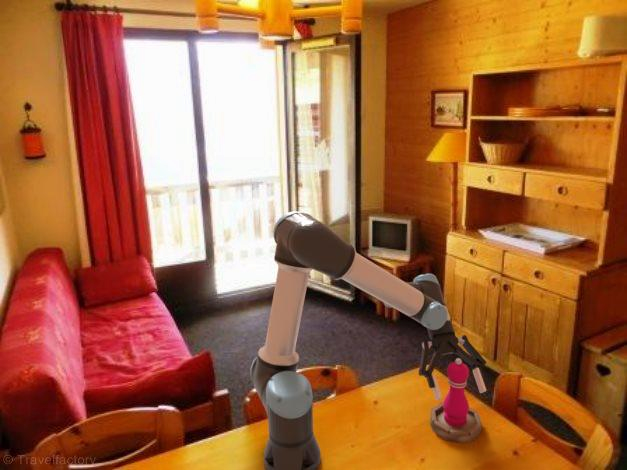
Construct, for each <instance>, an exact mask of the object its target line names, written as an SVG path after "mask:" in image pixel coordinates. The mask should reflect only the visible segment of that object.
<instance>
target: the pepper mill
mask: <svg viewBox="0 0 627 470" xmlns="http://www.w3.org/2000/svg"><path fill="white" fill-rule="evenodd" d="M462 360H463V359H462V358H461V357H457V358H456V359H455V360H454V361H452V362H450V363H449V364H448V366H447V369H446V374H447V376H448V379H447V381H448V385H449V390H448V393H447V394H446V396H445V397H444V399H443V409H444V411H445V412H444V420H445V421H446V422H447V423H448V424H449V425H451V426H455V427H460V426H463V425H465V424H466V421H467V414H468V412H469V407H470V404H469V401H468V399H467V396H466V394H465V387H467V384H468V383H467V382H468V381H467V380H468V378H469V376H470V369H469V367H468V365H466V364H465V363H463V361H462Z"/></svg>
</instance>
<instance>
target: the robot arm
mask: <svg viewBox="0 0 627 470" xmlns="http://www.w3.org/2000/svg"><path fill="white" fill-rule="evenodd" d="M273 239H274V242H275V244H276V245H275V251H274V257H273V258H274V259H273V260H274V262H275V263H276V264H277V267H278V268H277V274H276V280H275V286H274V292H273V297H272V301H271V309H270V315H269V320H268V326H267V331H266V338H265V339H266V340H265V344H264V346H262V347H260V348H259V350H258V352H257V356H256V357H254V359H253V360H252V363H251V365H250V374H249V375H250V379H251V383H252V386H253V387H254V389H255V392H256V394H257V395H258V397H259V399H260V401H261V404H262V405H263V407H264V409H265V412H266V415H267V422H268V423H267V424H268V438H267V442H266V446H265V448H264V453H263V465H264V468H265V470H319V469H318V468H319V467H320V465H321V459H322V458H321V457H322V455H321V447H320V445H319V442H318V440H317V438H316V436H315V433H314V419H313V418H314V415H313V414H314V413H313V407H314V406H313V397H314V395H313V390H312V385H311V383H310V381H309V379H308V378H307V377H306V376H305V375H303V374H302V373H298V372H297V371H298V365H299V360H300V356H299V354H298V353H297V352H296V347H297V341H298V335H299V331H300V325H301V320H302V314H303V310H304V304H305V297H306V293H307V287H308V282H309V277H310V272H311V271H317V272H318V273H321V274H322V275H325V276H327V277H329V278H331V279H332V280H336V281H339V280H340V279H341V280H343V281H345V282H347V283H348V284H351V285H352V286H353V287H355V288H357V289H359V290H361V291H363V292H364V293H366V294H368V295H370V296H372V297H374V298H376V299H378V300H379V301H380V302H382V303H383V305H384V306H385V307H387V308H389V309H390V308H391V309H392V308H393V309H395V310H397V311H398V312H401V313H402V314H404V315H405V316H407V317H409V318H411V319H413V320H414V321H416V322H418V323H419V324H421V325H422V326H423V327H425V328H426V330H427V333H428V337H429V339H430V341H428V340H427V339H426V340H424V341H423V342H422V343H421V350H422V351H421V356H420V363H419V369H418V376H420V377H422V376H423V377H424V378H426V380H427V384H428V387H429V388H430V389H432V390H433V391H432V392H433V395H434V398H435V401H436V402H437V401H440V400H442V399H443V396H442V393H441V389H440V387H439V384H438V380H437V375H436V374H433V373H434V370H435V368H436V365H437V363H438V361H439V359H440V356H441V355H442V356H445V355H453V354H454V355H457V356H458V358H460V359H461V360H463V361H464V362H465V363H467V364H468V365H469V366H471V367H472V368H473V369H472V374H473V377H474V379H475V383H476V386H477V388H478V392H479V393H480V394H482V393H486V391H487V388H486V384H485V382H484V380H485V374H484V372H483V368H482V367H483V366H484V365H486V364H487V361H486V360H485V358H484V357H483V356H482V355H481V354H480V353H479V352H478V351H477V349H476V348H475V347H474V346H473V344H472V343H471V342H470V340H469V339H468V337H467V335H465V334H464V335H462V336H460V337H459V336H458V337H457V335H456V332H455V328H454V325H453V322H452V321H451V316H450V314H449V311H448V308H447V304H446V301H445V299H444V295H443V291H442V289H441V285H440V283H439V280H438V279H437V276H436V275H434V274H433V273H426V274H419V275H418V276H416V277H415V278H414V279H413V281H410V282H409V281H408V282H406V281H404V280H402V279H400V278H399V277H397V276H395V275H394V274H393V273H391V272H389V271H387V270H386V269H384V268H382V267H381V266H379V265H377V264H375V263H374V262H372V260H369V259H367V258H366V257H364V256H362V255H361V254H359V253H357V251H356V247H355V246H354V245H352V244H351V243H349V242H347V241H346V240H344V239H343V238H342V237H341V236H340V235H338V234H337V232H335V231H334V230H333V229H332V228H330V227H329V226H328V225H326V224H325V223H323V222H322V221H320V220H318V219H317V218H315V217H313V216H312V215H310V214H309V213H305V212H302V211H297V210H296V211H289V212H287V213H285V214H283V215H282V216H281V217H280V218H278V219H277V221H276V223H275V224H274V227H273ZM458 344H460V345H461V346H462V347H461V346H460V345H458ZM430 348H432V349H434V352H433V354H432V358H431V360H430V361H429V364H428V358H429V353H430ZM463 348H464V349H465V350H464V349H463ZM427 365H428V367H427Z"/></svg>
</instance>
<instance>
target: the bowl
mask: <svg viewBox="0 0 627 470" xmlns="http://www.w3.org/2000/svg"><path fill="white" fill-rule="evenodd" d="M443 402H444V401H443ZM443 402H440V403H438V404H436V405H435V406H433V407H432V408H430V420H429V421H430V422H429V423H430V424H429V425H430V427H431V429H432V431H433V432H434V433H435V434H436V435H437V436H439V437H440V438H442V439H444V440H446V441H449V442H453V443H460V444H461V443H462V444H463V443H470V442H473V441H475V440H476V439H478V438H479V436H480V434H481V431H482V430H481V429H482V425H483V423H482V420H481V417H480V414H479V412H478V410H476V409H473V408H472V407H470V406H469V412H468V414H467V421H466V424H465V425H463V426H460V427H455V426H451V425H449V424H448V423H447V422H446V421H445V420H444V412H445V411H444V409H443Z"/></svg>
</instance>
